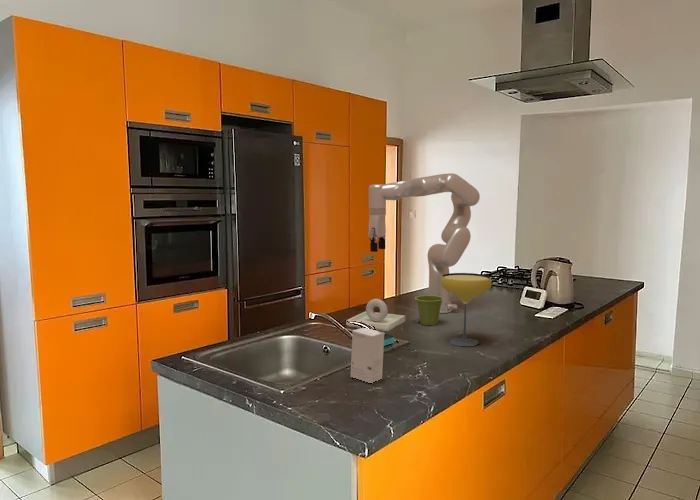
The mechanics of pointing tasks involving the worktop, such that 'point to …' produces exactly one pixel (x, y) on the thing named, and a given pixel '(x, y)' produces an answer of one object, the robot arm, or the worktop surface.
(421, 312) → the plant pot
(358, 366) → the skincare box
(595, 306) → the worktop surface
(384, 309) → the donut
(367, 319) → the tray
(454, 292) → the cocktail glass
